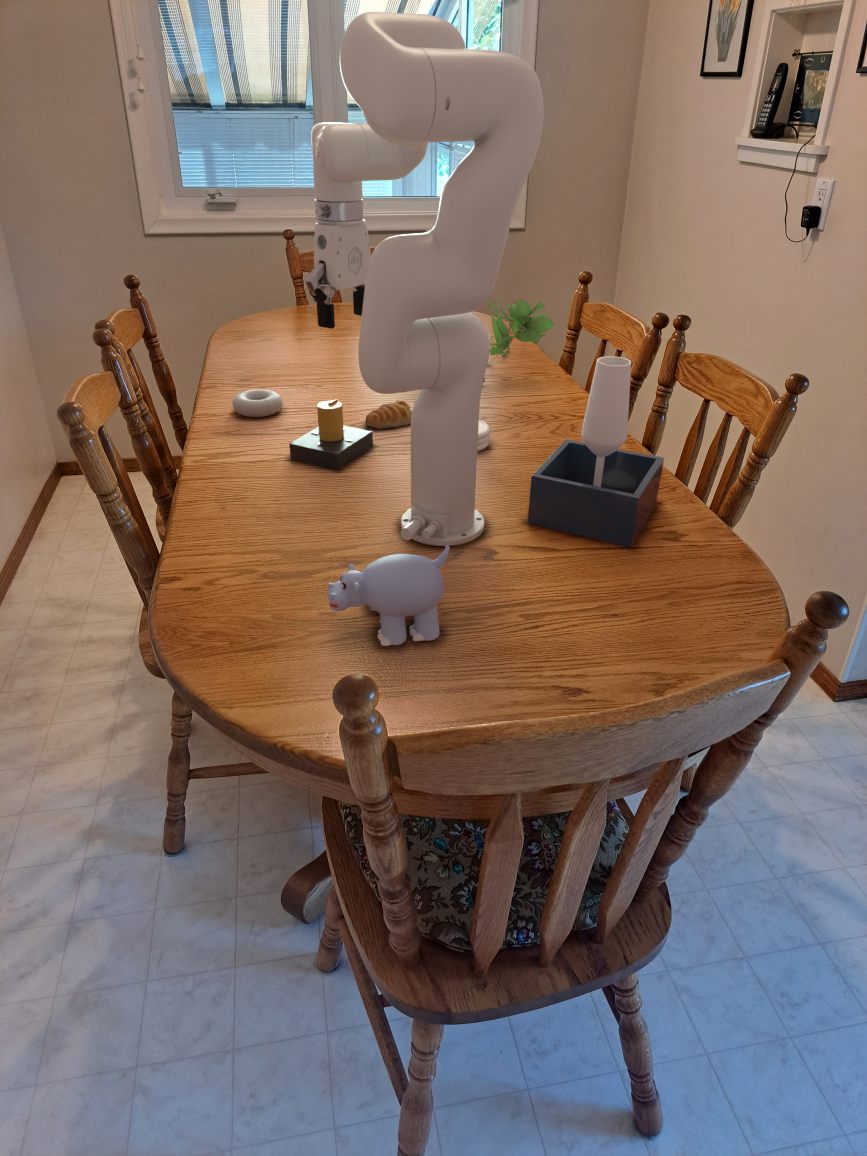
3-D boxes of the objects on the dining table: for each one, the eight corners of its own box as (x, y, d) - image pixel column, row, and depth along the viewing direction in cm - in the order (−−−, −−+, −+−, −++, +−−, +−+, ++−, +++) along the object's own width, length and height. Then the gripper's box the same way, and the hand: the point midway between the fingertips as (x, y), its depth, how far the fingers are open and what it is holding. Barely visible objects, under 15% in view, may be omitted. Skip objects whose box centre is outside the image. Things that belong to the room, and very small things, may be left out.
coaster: (494, 436, 148) (495, 419, 146) (482, 457, 140) (483, 438, 138) (443, 431, 150) (443, 413, 149) (429, 450, 142) (429, 432, 140)
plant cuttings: (389, 410, 179) (411, 376, 158) (376, 339, 180) (396, 295, 159) (528, 396, 189) (566, 362, 167) (515, 328, 190) (551, 286, 168)
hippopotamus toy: (325, 603, 100) (320, 539, 95) (439, 590, 103) (440, 526, 98) (335, 654, 91) (330, 585, 86) (459, 637, 94) (462, 570, 89)
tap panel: (338, 470, 134) (337, 453, 133) (290, 459, 138) (288, 442, 137) (373, 446, 144) (372, 430, 142) (327, 436, 147) (326, 420, 146)
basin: (630, 547, 113) (639, 498, 109) (527, 523, 119) (531, 475, 114) (655, 503, 125) (664, 457, 121) (560, 483, 131) (565, 439, 127)
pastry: (377, 433, 149) (377, 414, 147) (357, 423, 153) (357, 405, 151) (416, 423, 154) (416, 404, 152) (396, 413, 158) (395, 395, 156)
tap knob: (335, 443, 137) (333, 408, 133) (314, 438, 138) (311, 404, 135) (348, 435, 140) (346, 401, 137) (328, 430, 142) (325, 397, 138)
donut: (254, 400, 164) (222, 414, 157) (253, 384, 163) (220, 397, 155) (293, 408, 160) (262, 422, 153) (291, 392, 159) (260, 405, 151)
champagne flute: (623, 519, 120) (648, 365, 107) (585, 526, 118) (606, 370, 105) (600, 500, 126) (621, 352, 113) (563, 507, 123) (580, 356, 111)
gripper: (322, 220, 116) (329, 335, 126) (390, 208, 129) (391, 314, 138) (285, 216, 120) (294, 328, 129) (354, 204, 132) (358, 308, 141)
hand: (344, 321), depth 133 cm, fingers open, 9 cm apart
